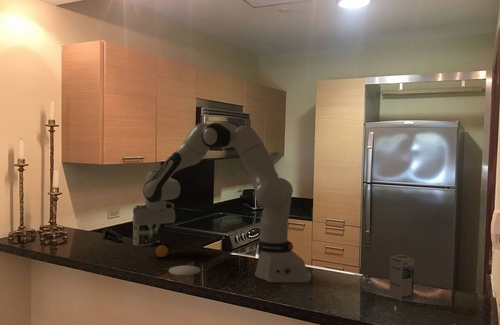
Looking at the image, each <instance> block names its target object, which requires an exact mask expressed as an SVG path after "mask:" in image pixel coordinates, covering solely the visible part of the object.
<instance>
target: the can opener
mask: <svg viewBox="0 0 500 325" xmlns="http://www.w3.org/2000/svg"><path fill="white" fill-rule="evenodd" d="M102 233H103V235H102V238H103V239H105V240H109V239H111V240H112V241H114V242H115V243H118V244H120V243H122V240H121V239H123V236H122V235H121V234H119V233H118V232H116V231H115V230H113V229H110V228H104V229H103V231H102Z"/></svg>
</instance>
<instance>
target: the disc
mask: <svg viewBox="0 0 500 325" xmlns="http://www.w3.org/2000/svg"><path fill="white" fill-rule="evenodd" d="M200 272H201V268H200V267H198V266H195V265H178V266H172V267H170V268H169V269H168V273H169V274H172V275H175V276H194V275H196V274H199V273H200Z"/></svg>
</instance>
